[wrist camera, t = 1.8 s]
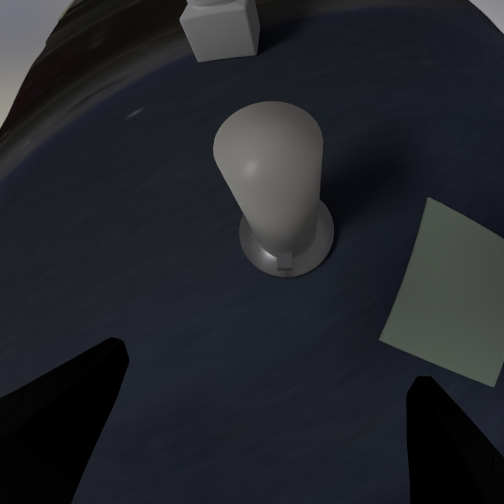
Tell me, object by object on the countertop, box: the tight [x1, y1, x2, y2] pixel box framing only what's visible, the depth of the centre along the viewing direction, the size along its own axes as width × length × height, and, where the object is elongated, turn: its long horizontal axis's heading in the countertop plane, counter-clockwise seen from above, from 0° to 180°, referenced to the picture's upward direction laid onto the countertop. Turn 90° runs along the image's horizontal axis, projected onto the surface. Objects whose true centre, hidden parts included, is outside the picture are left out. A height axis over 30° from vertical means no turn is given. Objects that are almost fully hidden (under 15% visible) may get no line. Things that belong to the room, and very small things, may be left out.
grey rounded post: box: [213, 101, 323, 271], centre depth 16 cm, size 6×4×11 cm
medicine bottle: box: [180, 0, 260, 62], centre depth 24 cm, size 7×7×12 cm
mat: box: [379, 197, 504, 387], centre depth 18 cm, size 12×12×1 cm
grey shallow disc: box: [239, 199, 334, 278], centre depth 22 cm, size 7×7×1 cm
